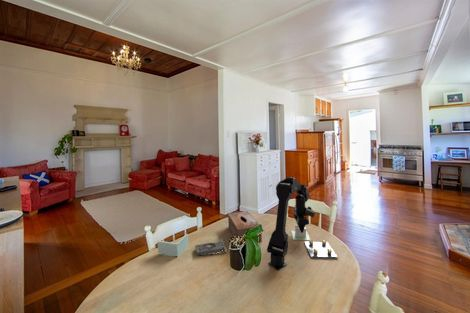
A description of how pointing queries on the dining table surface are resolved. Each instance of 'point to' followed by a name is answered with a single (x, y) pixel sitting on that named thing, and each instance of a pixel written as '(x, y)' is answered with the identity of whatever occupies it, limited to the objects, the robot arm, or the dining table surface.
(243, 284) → the dining table surface
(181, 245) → the right angle wall
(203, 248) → the graphics card
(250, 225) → the tissue box cover
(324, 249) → the chassis plate
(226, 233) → the dining table surface
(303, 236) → the pale grey flanged block
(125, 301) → the dining table surface
